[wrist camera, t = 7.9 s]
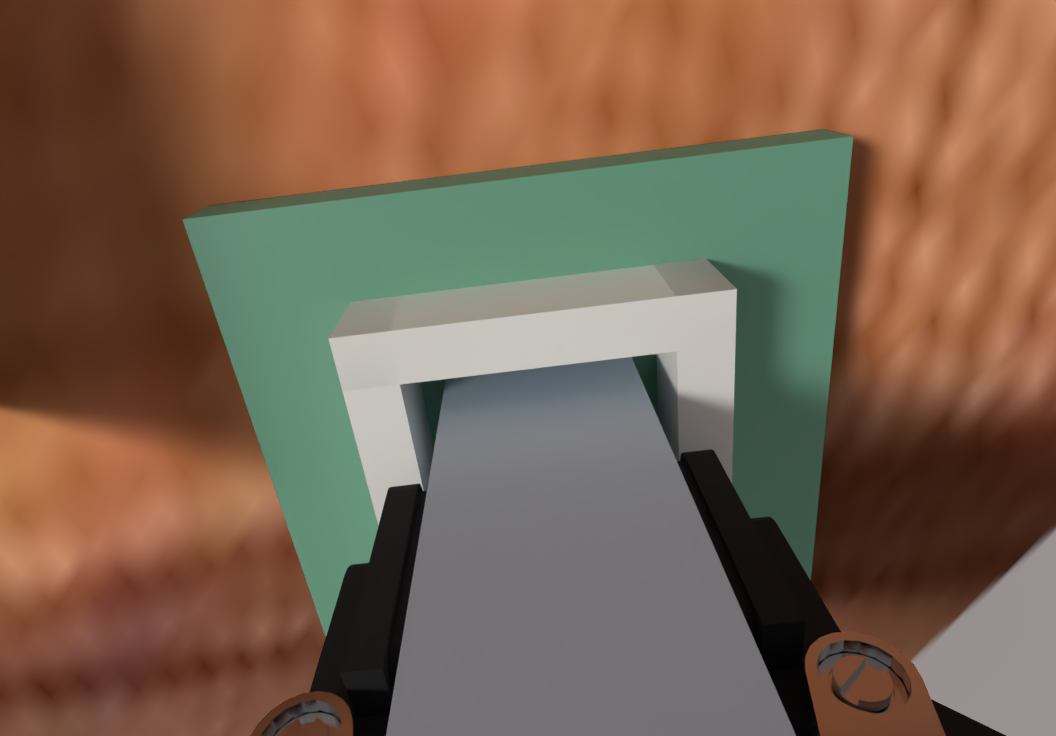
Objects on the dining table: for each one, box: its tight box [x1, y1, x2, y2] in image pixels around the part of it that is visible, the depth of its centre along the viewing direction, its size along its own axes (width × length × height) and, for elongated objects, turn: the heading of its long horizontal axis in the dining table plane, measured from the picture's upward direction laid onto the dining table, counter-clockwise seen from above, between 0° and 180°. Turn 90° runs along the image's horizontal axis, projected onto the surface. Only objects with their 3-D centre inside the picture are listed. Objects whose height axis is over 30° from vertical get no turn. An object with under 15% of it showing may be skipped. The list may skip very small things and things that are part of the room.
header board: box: [182, 129, 853, 636], centre depth 14 cm, size 12×12×3 cm
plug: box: [386, 357, 796, 736], centre depth 10 cm, size 6×4×9 cm, turn 6°
